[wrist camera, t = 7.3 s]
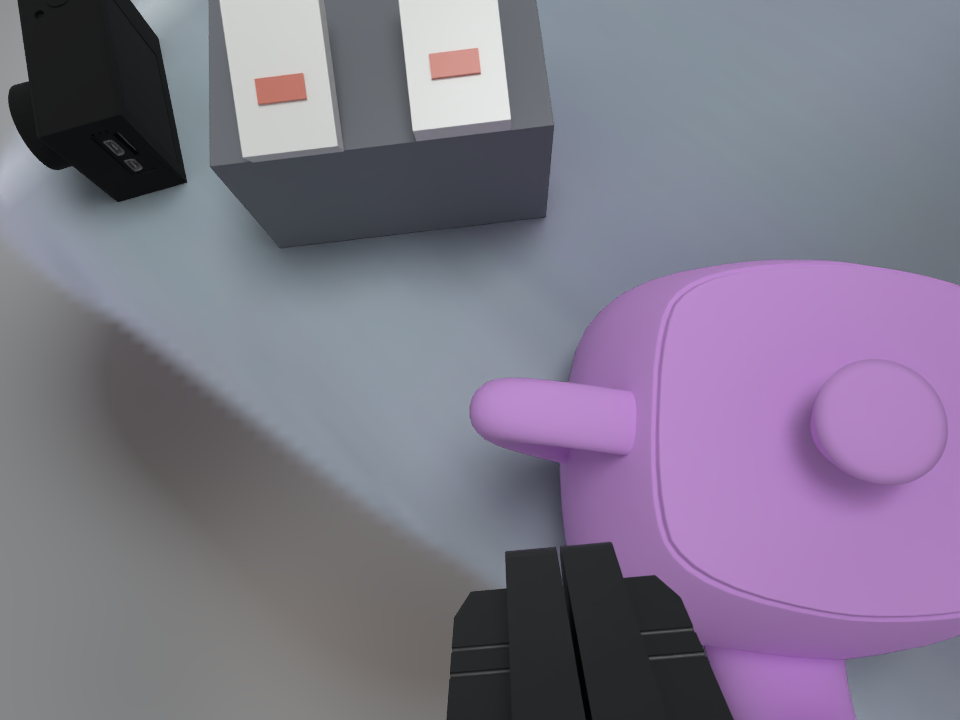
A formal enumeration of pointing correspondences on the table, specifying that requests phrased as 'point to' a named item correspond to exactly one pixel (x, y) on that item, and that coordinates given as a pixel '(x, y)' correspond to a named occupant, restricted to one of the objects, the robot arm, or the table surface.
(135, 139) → the digital camera
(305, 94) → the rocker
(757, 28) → the table surface
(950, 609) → the teapot
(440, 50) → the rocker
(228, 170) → the switch box
